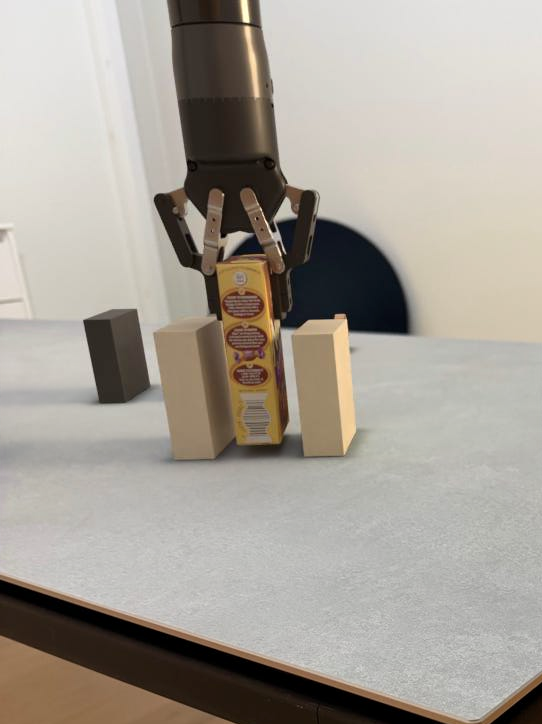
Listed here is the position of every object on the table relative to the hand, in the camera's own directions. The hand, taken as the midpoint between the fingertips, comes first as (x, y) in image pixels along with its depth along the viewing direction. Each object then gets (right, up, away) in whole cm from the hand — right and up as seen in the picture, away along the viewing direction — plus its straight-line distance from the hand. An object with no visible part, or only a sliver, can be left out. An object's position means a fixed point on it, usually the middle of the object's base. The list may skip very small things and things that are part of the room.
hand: (252, 318), depth 84 cm
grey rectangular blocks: (-16, +1, +28) cm, 32 cm away
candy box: (0, -9, +5) cm, 10 cm away
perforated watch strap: (+1, +13, +52) cm, 53 cm away
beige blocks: (0, -10, +5) cm, 11 cm away
